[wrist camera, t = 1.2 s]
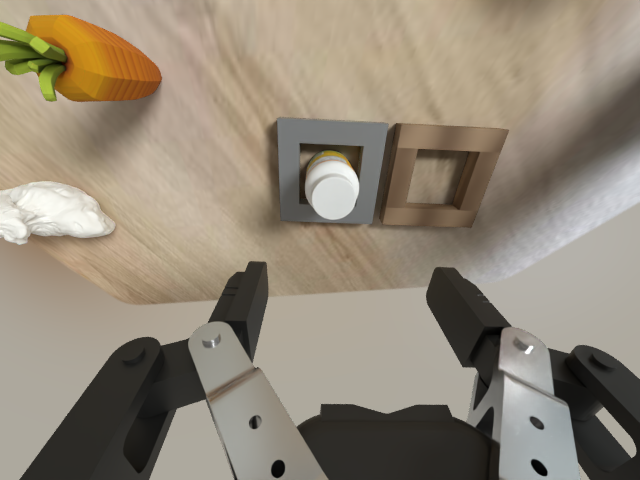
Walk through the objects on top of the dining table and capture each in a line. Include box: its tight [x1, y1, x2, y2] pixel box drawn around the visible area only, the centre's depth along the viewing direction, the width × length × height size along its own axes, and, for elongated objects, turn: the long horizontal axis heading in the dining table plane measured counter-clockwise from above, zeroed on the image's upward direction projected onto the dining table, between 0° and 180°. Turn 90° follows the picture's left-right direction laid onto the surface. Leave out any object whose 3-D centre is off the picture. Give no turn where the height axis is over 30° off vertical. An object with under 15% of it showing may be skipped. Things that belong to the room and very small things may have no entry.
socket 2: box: [379, 123, 509, 228], centre depth 30 cm, size 12×12×2 cm
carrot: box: [0, 15, 162, 102], centre depth 18 cm, size 5×5×15 cm
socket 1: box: [277, 117, 388, 224], centre depth 29 cm, size 12×12×2 cm
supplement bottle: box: [305, 150, 359, 220], centre depth 26 cm, size 5×5×10 cm
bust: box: [0, 181, 116, 245], centre depth 27 cm, size 12×8×11 cm
